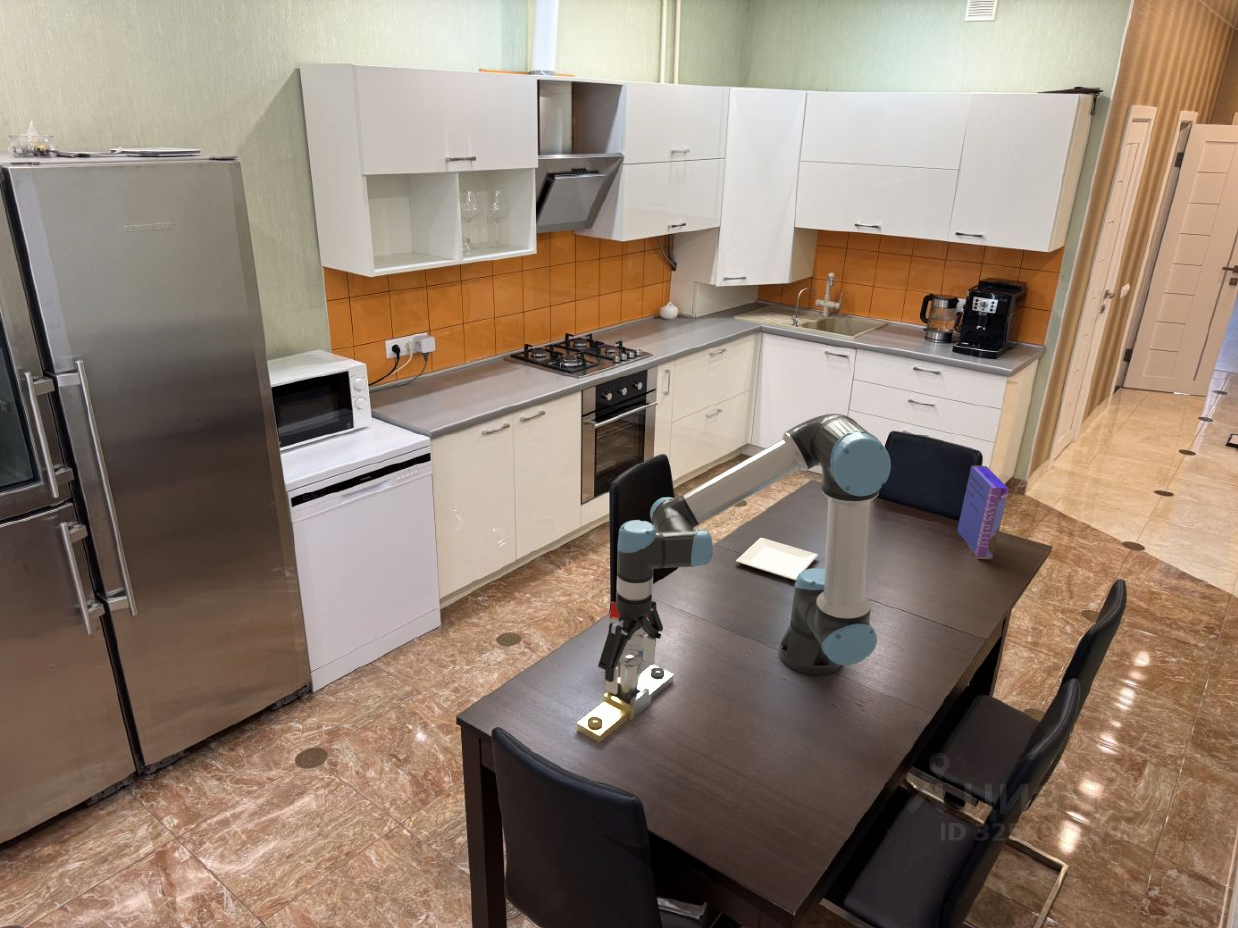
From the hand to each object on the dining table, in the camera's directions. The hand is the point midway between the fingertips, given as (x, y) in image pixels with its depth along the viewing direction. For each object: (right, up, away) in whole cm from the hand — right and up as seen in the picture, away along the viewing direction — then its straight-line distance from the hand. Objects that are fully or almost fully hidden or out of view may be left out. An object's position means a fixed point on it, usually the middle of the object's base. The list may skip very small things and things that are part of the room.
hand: (630, 676), depth 189 cm
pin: (-1, -7, +3) cm, 8 cm away
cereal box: (+109, +20, +83) cm, 139 cm away
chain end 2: (+3, -5, +7) cm, 9 cm away
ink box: (0, 0, +21) cm, 21 cm away
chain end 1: (-4, -8, -1) cm, 9 cm away
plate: (+44, +17, +67) cm, 82 cm away
